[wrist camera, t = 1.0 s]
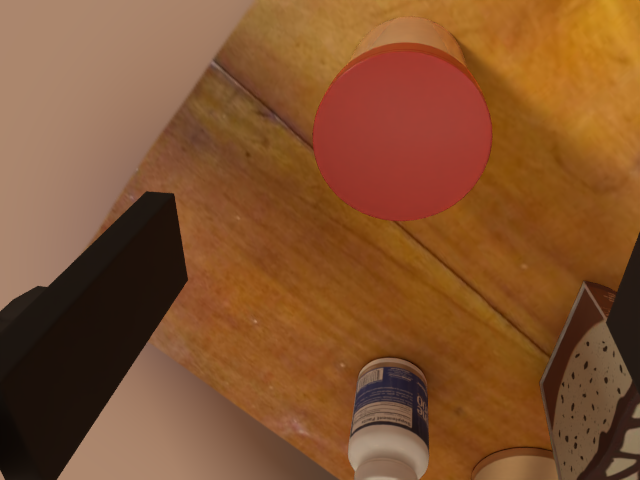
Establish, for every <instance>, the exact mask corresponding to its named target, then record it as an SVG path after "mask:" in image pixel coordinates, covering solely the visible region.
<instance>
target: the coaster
mask: <svg viewBox="0 0 640 480" xmlns="http://www.w3.org/2000/svg"><path fill="white" fill-rule="evenodd" d="M471 480H559V479H558V474H557V469H556V464H555V459H554V454H553V452H551V451H548V450H543V449H538V448H513V449H507V450H503V451H499V452H497V453H494V454H492V455H490V456H488V457H486V458H485V459H483V460H482V461H481V462H480V463H479V464H478V465H477V466H476V467H475V469H474V470H473V473H472V477H471Z"/></svg>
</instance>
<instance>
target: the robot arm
mask: <svg viewBox="0 0 640 480" xmlns="http://www.w3.org/2000/svg"><path fill="white" fill-rule="evenodd" d="M187 281H188V277H187V271H186V265H185V258H184V252H183V246H182V240H181V233H180V227H179V221H178V215H177V209H176V202H175V196H174V194H173V193H160V192H148V191H146V192H145V193H144V194H143V195H142V196H141V197H140V198H139V199H138V200H137V201H136V202H135V203H134V204H133V205H132V206H131V207H130V208H129V209H128V210H127V211H126V212H125V213H124V214H123V215H122V216H120V217H119V218H118V219H117V220H116V221H115V222H114V223H113V224H112V225H111V226H110V227H109V228H108V229H107V230H106V231H105V232H104V233H103V234H102V235H101V236H100V237H99V238H98V239H97V240H96V241H95V242H94V243H93V244H92V245H91V246H89V247H88V248H87V249H86V250H85V251H84V252H83V253H82V254H81V255H80V256H79V257H78V258H77V259H76V260H75V261H74V262H73V263H72V264H71V265H70V266H69V267H68V268H67V269H66V270H65V271H64V272H63V273H62V274H61V275H60V276H58V277H57V278H56V280H54V281H53V282H52V283H51V284H50V285H49V286H48V287H42V286H37V287H35V288H33V289H31V290H30V291H28V292H26V293H24V294H22V295H21V296H19V297H17V298H15V299H14V300H12V301H11V302H10V303H9V304H8V305H7V306H6V307H5V308H4V309H3V310H1V311H0V470H1V472H2V474H3V476H4V478H5V480H57V478H58V477H59V475H60V474H61V472H62V471H63V469H64V468H65V466H66V465H67V463H68V462H69V460H70V459H71V457H72V456H73V454H74V453H75V451H76V450H77V448H78V446H79V445H80V443H81V442H82V440H83V439H84V437H85V436H86V434H87V433H88V431H89V430H90V428H91V427H92V425H93V424H94V422H95V421H96V419H97V418H98V416H99V414H100V413H101V411H102V410H103V408H104V407H105V405H106V404H107V402H108V401H109V399H110V398H111V396H112V395H113V393H114V392H115V390H116V389H117V387H118V385H119V384H120V383H121V381H122V380H123V378H124V376H125V375H126V373H127V372H128V370H129V369H130V367H131V366H132V364H133V363H134V361H135V360H136V358H137V357H138V355H139V354H140V352H141V351H142V349H143V348H144V346H145V345H146V343H147V341H148V340H149V338H150V337H151V335H152V334H153V332H154V331H155V329H156V328H157V326H158V325H159V323H160V322H161V320H162V319H163V317H164V316H165V314H166V313H167V311H168V310H169V308H170V306H171V305H172V303H173V302H174V300H175V299H176V297H177V296H178V294H179V293H180V291H181V290H182V288H183V287H184V285H185V284H186V282H187ZM606 325H607V327H608V329H609V331H610V333H611V335H612V338H613V340H614V342H615V344H616V346H617V348H618V350H619V353H620V355H621V357H622V359H623V361H624V363H625V365H626V368H627V370H628V372H629V374H630V376H631V378H632V380H633V383H634V385H635V387H636V389H637V391H638V393H639V395H640V233H639V235H638V238H637V241H636V243H635V246H634V249H633V251H632V254H631V257H630V259H629V262H628V265H627V267H626V270H625V273H624V275H623V278H622V281H621V283H620V286H619V289H618V291H617V294H616V297H615V299H614V302H613V305H612V307H611V310H610V313H609V315H608V318H607V321H606Z"/></svg>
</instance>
